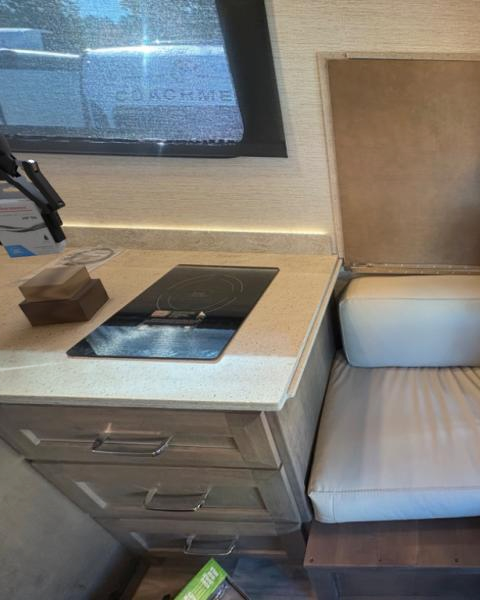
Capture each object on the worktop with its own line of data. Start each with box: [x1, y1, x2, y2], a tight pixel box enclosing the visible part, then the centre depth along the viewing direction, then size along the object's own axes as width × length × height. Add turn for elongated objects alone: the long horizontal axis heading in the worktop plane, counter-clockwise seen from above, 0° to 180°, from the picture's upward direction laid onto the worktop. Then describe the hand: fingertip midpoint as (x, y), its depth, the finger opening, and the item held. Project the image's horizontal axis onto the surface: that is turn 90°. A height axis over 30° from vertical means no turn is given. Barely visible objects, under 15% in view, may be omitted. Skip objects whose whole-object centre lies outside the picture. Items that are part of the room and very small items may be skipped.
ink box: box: [0, 181, 68, 259], centre depth 71 cm, size 8×5×15 cm, turn 115°
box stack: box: [17, 265, 110, 327], centre depth 80 cm, size 11×11×10 cm
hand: (34, 241), depth 73 cm, fingers closed on ink box, 9 cm apart
